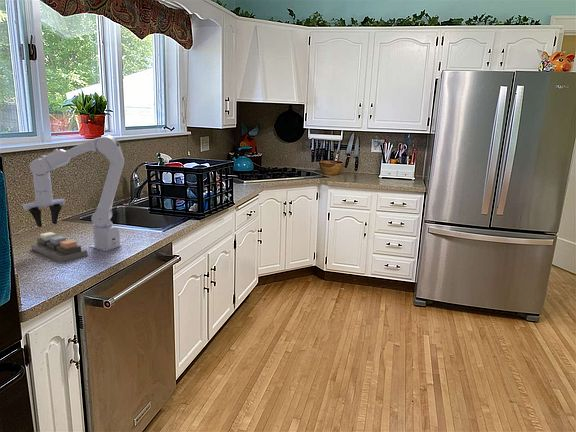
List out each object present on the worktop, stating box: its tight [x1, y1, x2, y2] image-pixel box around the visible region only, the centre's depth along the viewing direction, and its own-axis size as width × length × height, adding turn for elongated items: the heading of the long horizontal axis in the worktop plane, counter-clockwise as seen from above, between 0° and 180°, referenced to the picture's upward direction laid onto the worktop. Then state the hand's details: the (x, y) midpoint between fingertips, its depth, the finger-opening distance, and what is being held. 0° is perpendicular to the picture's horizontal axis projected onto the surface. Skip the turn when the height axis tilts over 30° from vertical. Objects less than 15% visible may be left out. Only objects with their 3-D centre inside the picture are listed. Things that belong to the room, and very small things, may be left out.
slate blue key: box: [50, 235, 67, 245], centre depth 158 cm, size 4×4×2 cm
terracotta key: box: [60, 239, 78, 249], centre depth 154 cm, size 4×4×2 cm
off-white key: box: [39, 231, 57, 241], centre depth 163 cm, size 4×4×2 cm
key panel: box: [30, 237, 88, 263], centre depth 159 cm, size 22×10×4 cm, turn 54°
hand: (47, 225), depth 162 cm, fingers open, 5 cm apart
